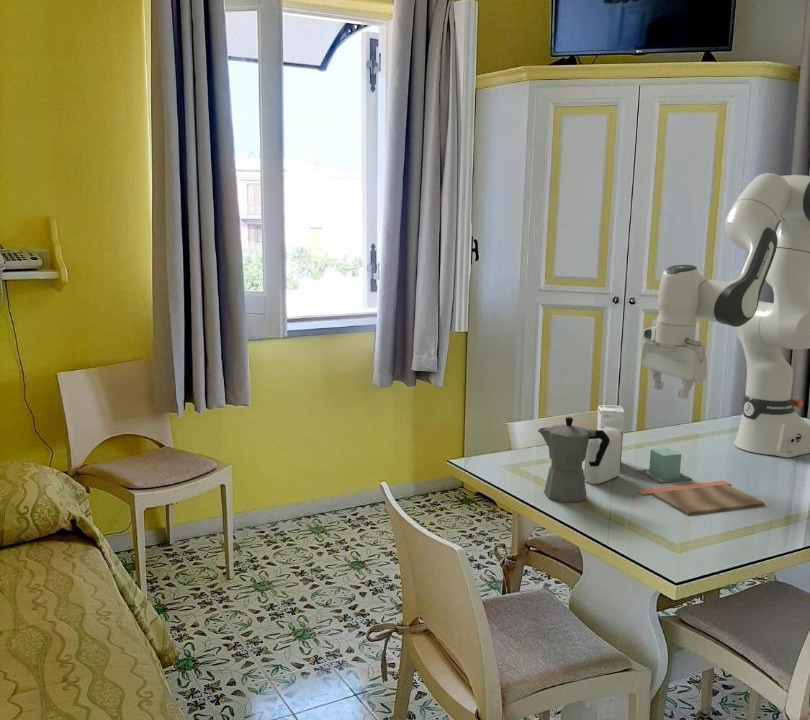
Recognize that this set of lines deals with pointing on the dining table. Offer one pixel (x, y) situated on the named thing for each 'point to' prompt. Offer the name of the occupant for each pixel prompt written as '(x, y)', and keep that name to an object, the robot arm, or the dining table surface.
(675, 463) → the teal block
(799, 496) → the dining table surface
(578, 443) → the coffeepot
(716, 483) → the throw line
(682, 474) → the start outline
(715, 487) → the board
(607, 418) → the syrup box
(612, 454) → the photo printer
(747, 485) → the dining table surface
